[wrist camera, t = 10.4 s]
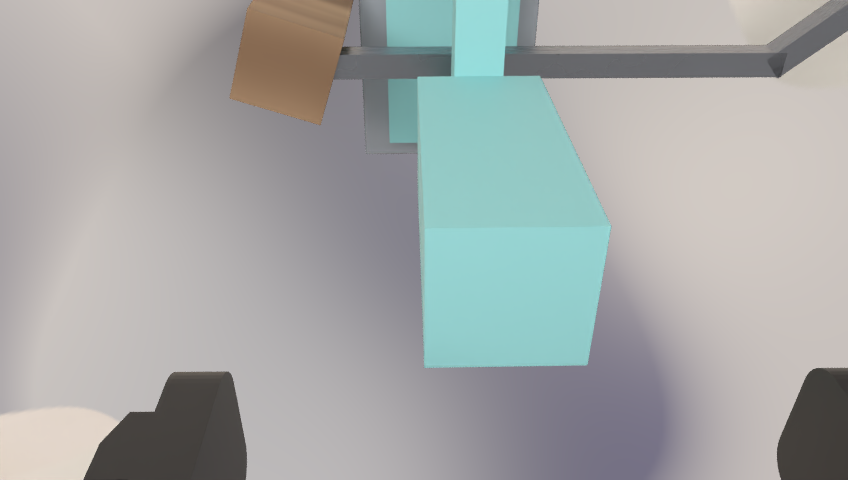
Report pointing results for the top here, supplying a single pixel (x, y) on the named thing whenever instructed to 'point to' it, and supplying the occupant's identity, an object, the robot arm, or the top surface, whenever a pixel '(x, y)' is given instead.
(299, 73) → the wood grain block
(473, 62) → the turquoise frame with handle
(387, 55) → the wire
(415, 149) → the pad
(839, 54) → the top surface
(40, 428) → the top surface
